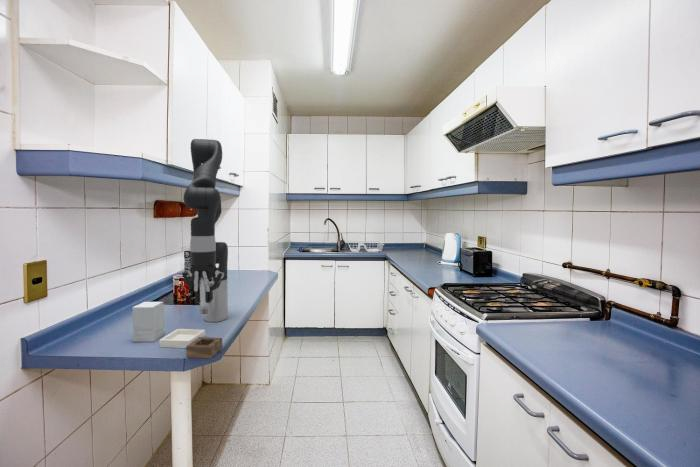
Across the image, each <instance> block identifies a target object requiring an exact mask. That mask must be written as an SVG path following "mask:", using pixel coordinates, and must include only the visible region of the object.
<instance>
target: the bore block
mask: <svg viewBox="0 0 700 467" xmlns="http://www.w3.org/2000/svg"><path fill="white" fill-rule="evenodd" d="M222 349H223V337H209V336H208V337H207V336H205V337H199V338H197V339H196V340H195V341H193V342H192V343H190V344H189V345H188V346H186V348H185V351H186V352H185V353H186V356H185V357H186V358H189V359H190V358H192V359H193V358H194V359H213V357H214V356H216V354H218V352H219V351H221V350H222Z"/></svg>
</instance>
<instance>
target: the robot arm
mask: <svg viewBox="0 0 700 467" xmlns="http://www.w3.org/2000/svg"><path fill="white" fill-rule="evenodd" d="M190 156H191V162H192V169H193V179H192V181H191V183H190V184H188V186H187V188H186V189H185V191H184V193H183V199H182V200H183V203H184V205H185V206H186V207H187V208H188V209H190V210H196V212H197V216H196V217H193V218H191V220H190V242H189V243H190V244H189V245H190V246H189V250H190V251H189V252H190V253H189V255H190V267H189V270H188V271H185V272H182V273H181V275H182V278H183V280H184V282H185V284H186V285H187V288H188V289H189V290H190V291H191V290H192V291H194V300H195V302H196V303H197V304H200V293H199V281H200V277H204V284H205V285H206V291H207V292H206V303H208V309H209V313H207V314H204V321H206V322H209V323H212V322H215V323H217V322H221V321H225V320H227V319H228V317H229V307H228V306H229V305H228V304H229V303H228V296H229V295H228V292H229V291H228V289H229V288H228V260H229V259H228V258H229V256H228V255H229V247H228V244H227V243H226V242H224V241H217V240H216V236H215V234H216V230H215V229H216V227H215V226H216V223H217V222H218V220H219V218H220V217H221V214H222V198H221V194H220V192H219V190H218V189H217V188H216V183H217V182H216V181H217V174H218V172H219V169H220V166H221V164H222V162H223V147H222V144H221V142H220V141H219V140H218V139H217V140H216V139H209V138H208V139H206V138H205V139H204V138H203V139H202V138H193V139H192V140H191V142H190ZM216 265H218V267H217V266H216Z"/></svg>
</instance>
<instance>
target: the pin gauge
mask: <svg viewBox="0 0 700 467" xmlns="http://www.w3.org/2000/svg"><path fill="white" fill-rule="evenodd" d="M206 292H207V291H206V285H205V284H204V277H200V281H199V293H200V303H199V314H200V315H205V314H207V313H209V309H208V303H206Z"/></svg>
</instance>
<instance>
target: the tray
mask: <svg viewBox="0 0 700 467" xmlns="http://www.w3.org/2000/svg"><path fill="white" fill-rule="evenodd" d="M199 337H206V329H195V328H194V329H191V328H177V329H175V330H173V331H172V332H170V333H169V334H166V335H165V336H164V337H161V338H159V339H158V340H159V348H168V349H169V348H174V349H186V346H188V345H189V344H190V343H192V342H193V341H195V340H196V339H197V338H199Z"/></svg>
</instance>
